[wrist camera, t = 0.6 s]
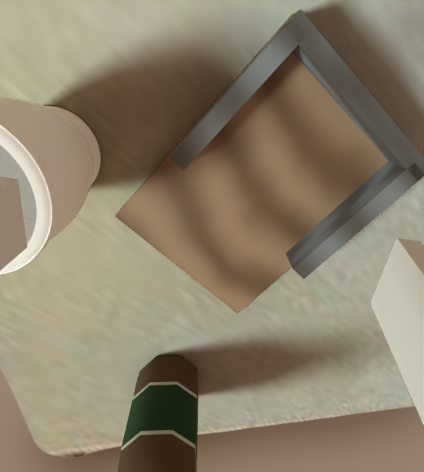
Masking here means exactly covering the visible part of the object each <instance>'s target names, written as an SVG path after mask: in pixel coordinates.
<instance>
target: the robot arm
mask: <svg viewBox="0 0 424 472" xmlns="http://www.w3.org/2000/svg"><path fill="white" fill-rule="evenodd" d="M26 248H27V239H26V232H25V225H24V218H23V211H22V204H21V196H20V189H19V182H18V179H13V178H6V177H0V271H1V270H2V269H3V268H4V267H5V266H6V265H8V264H9V263H10V262H11V261H12V260H13V259H14V258H16V257H17V256H18V255H19V254H20V253H21V252H23V251H24V250H25V249H26ZM371 306H372V308H373V310H374V312H375V315H376V317H377V319H378V322H379V324H380V326H381V329H382V331H383V333H384V335H385V338H386V340H387V342H388V345H389V347H390V349H391V351H392V354H393V356H394V358H395V361H396V363H397V365H398V367H399V370H400V372H401V374H402V377H403V379H404V381H405V383H406V386H407V388H408V390H409V393H410V395H411V397H412V399H413V402H414V404H415V406H416V409H417V411H418V413H419V415H420V418H421V420H422V422H423V425H424V246H423V244H422V243H421V242H420V241H414V240H407V239H401V238H397V239H396V241H395V244H394V246H393V249H392V251H391V254H390V256H389V259H388V261H387V264H386V266H385V269H384V271H383V273H382V276H381V278H380V281H379V283H378V286H377V288H376V291H375V293H374V296H373V298H372V301H371Z"/></svg>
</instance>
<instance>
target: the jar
mask: <svg viewBox="0 0 424 472" xmlns="http://www.w3.org/2000/svg"><path fill="white" fill-rule="evenodd" d="M100 164H101V155H100V149H99V145H98V142H97V140H96V138H95V136H94V134H93V133H92V131H91V130H90V128H89V127H88V126H87V125H86V124H85V123H84V122H83V121H82V120H81V119H80V118H79V117H77V116H76V115H75V114H73V113H71V112H69V111H67V110H65V109H62V108H59V107H53V106H43V105H40V104H35V103H30V102H27V101H23V100H18V99H12V98H1V97H0V177H6V178H13V179H18V182H19V189H20V196H21V204H22V211H23V218H24V225H25V232H26V239H27V248H26V249H25V250H24V251H23V252H21V253H20V254H19V255H18V256H17V257H16V258H14V259H13V260H12V261H11V262H10V263H9V264H8V265H6V266H5V267H4V268H3V269H2V270H1V271H0V275H2V274H6V273H9V272H12V271H15V270H17V269H19V268H21V267H23V266H24V265H26V264H28V263H29V262H30V261H32V260H33V259H34V258H36V257H37V256H38V255H39V254H40V253H41V252H42V250H43V249H44V248H45V246H46V245H47V243H48V242H49V240H51V239H52V238H54V237H55V236H56V235H58V234H59V233H60V232H61V231H62V230H64V229H65V228H66V227H67V226H68V225H69V224H70V223H71V222H72V220H73V219H74V218H75V217H76V215H77V214H78V212H79V211H80V209H81V207H82V206H83V204H84V201H85V199H86V197H87V194H88V192H89V190H90V187H91V185H92V184H93V182H94V181H95V179H96V178H97V175H98V173H99V170H100Z"/></svg>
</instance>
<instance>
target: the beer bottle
mask: <svg viewBox="0 0 424 472" xmlns="http://www.w3.org/2000/svg"><path fill="white" fill-rule="evenodd" d="M197 431H198V382H197V369H196V368H195V367H194V366H193V365H191V364H190V363H188V362H187V361H186V360H184V359H183V358H182V357H180V356H156V357H155V358H154V359H153V360H152V361H151V362H150V363H148V364H147V365H146V366H145V367H144V368H143V369H142V370H141V371H140V373H139V376H138V379H137V383H136V387H135V392H134V396H133V400H132V405H131V409H130V413H129V418H128V422H127V426H126V431H125V435H124V439H123V444H122V448H121V454H120V460H119V467H118V472H196V470H197Z"/></svg>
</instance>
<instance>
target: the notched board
mask: <svg viewBox="0 0 424 472" xmlns="http://www.w3.org/2000/svg"><path fill="white" fill-rule="evenodd" d="M423 176H424V157H423V156H422V154H421V153H420V152H419V151H418V150H417V148H416V147H415V146H414V145H413V144H412V142H411V141H410V140H409V139H408V138H407V136H406V135H405V134H404V133H403V132H402V130H401V129H400V128H399V127H398V126H397V124H396V123H395V122H394V121H393V120H392V118H391V117H390V116H389V115H388V114H387V112H386V111H385V110H384V109H383V108H382V106H381V105H380V104H379V103H378V102H377V100H376V99H375V98H374V97H373V96H372V94H371V93H370V92H369V91H368V90H367V88H366V87H365V86H364V85H363V84H362V82H361V81H360V80H359V79H358V78H357V76H356V75H355V74H354V73H353V72H352V70H351V69H350V68H349V67H348V66H347V64H346V63H345V62H344V61H343V60H342V58H341V57H340V56H339V55H338V54H337V52H336V51H335V50H334V49H333V48H332V46H331V45H330V44H329V43H328V42H327V40H326V39H325V38H324V37H323V36H322V34H321V33H320V32H319V31H318V30H317V28H316V27H315V26H314V25H313V24H312V22H311V21H310V20H309V19H308V18H307V16H306V15H305V14H304V13H303V12H302V10H301V9H300V10H299V11H298V12H297V13H295V14H292V15H291V16H290V17H289V18H288V20H287V21H286V22H285V23H284V24H283V25H282V26H281V28H280V29H279V30H278V31H277V32H276V33H275V34H274V35H273V37H272V38H271V39H270V40H269V41H268V42H267V43H266V45H265V46H264V47H263V48H262V49H261V50H260V51H259V53H258V54H257V55H256V56H255V57H254V58H253V59H252V61H251V62H250V63H249V64H248V65H247V66H246V67H245V68H244V70H243V71H242V72H241V73H240V74H239V75H238V76H237V78H236V79H235V80H234V81H233V82H232V83H231V84H230V86H229V87H228V88H227V89H226V90H225V91H224V92H223V93H222V95H221V96H220V97H219V98H218V99H217V100H216V101H215V103H214V104H213V105H212V106H211V107H210V108H209V109H208V111H207V112H206V113H205V114H204V115H203V116H202V117H201V118H200V120H199V121H198V122H197V123H196V124H195V125H194V126H193V128H192V129H191V130H190V131H189V132H188V133H187V134H186V136H185V137H184V138H183V139H182V140H181V141H180V142H179V143H178V145H177V146H176V147H175V148H174V149H173V150H172V151H171V153H170V154H169V155H168V156H167V157H166V158H165V159H164V161H163V162H162V163H161V164H160V165H159V166H158V167H157V168H156V170H155V171H154V172H153V173H152V174H151V175H150V176H149V178H148V179H147V180H146V181H145V182H144V183H143V184H142V186H141V187H140V188H139V189H138V190H137V191H136V192H135V193H134V195H133V196H132V197H131V198H130V199H129V200H128V201H127V203H126V204H125V205H124V206H123V207H122V208H121V209H120V211H119V212H118V213H117V214H116V216H115V217H117V218H118V219H119V220H120V221H122V222H123V223H124V224H125V225H127V226H128V227H129V228H130V229H132V230H133V231H134V232H135V233H137V234H138V235H139V236H140V237H142V238H143V239H144V240H146V241H147V242H148V243H149V244H151V245H152V246H153V247H154V248H156V249H157V250H158V251H159V252H161V253H162V254H163V255H164V256H166V257H167V258H168V259H169V260H171V261H172V262H173V263H174V264H176V265H177V266H178V267H179V268H181V269H182V270H183V271H185V272H186V273H187V274H188V275H190V276H191V277H192V278H193V279H195V280H196V281H197V282H198V283H200V284H201V285H202V286H203V287H205V288H206V289H207V290H208V291H210V292H211V293H212V294H213V295H215V296H216V297H217V298H218V299H220V300H221V301H222V302H223V303H225V304H226V305H227V306H229V307H230V308H231V309H232V310H234V311H235V312H236V313H237V314H238V313H239V312H240V311H241V310H242V309H244V308H245V307H246V306H247V305H248V304H249V303H250V302H251V301H253V300H254V299H255V298H256V297H257V296H258V295H259V294H261V293H262V292H263V291H264V290H265V289H266V288H267V287H269V286H270V285H271V284H272V283H273V282H274V281H275V280H276V279H278V278H279V277H280V276H281V275H282V274H283V273H284V272H286V271H287V270H288V269H289V268H290V267H291V266H292V268H293V270H295V271H296V272H297V273H298V274H299V275H300V276H301V277H302V278H303V279H304V278H306V277H307V276H308V275H309V274H310V273H311V272H313V271H314V270H315V269H316V268H317V267H318V266H320V265H321V264H322V263H323V262H324V261H325V260H327V259H328V258H329V257H330V256H331V255H332V254H334V253H335V252H336V251H337V250H338V249H339V248H341V247H342V246H343V245H344V244H345V243H346V242H348V241H349V240H350V239H351V238H352V237H353V236H355V235H356V234H357V233H358V232H359V231H360V230H362V229H363V228H364V227H365V226H366V225H367V224H369V223H370V222H371V221H372V220H373V219H374V218H376V217H377V216H378V215H379V214H380V213H381V212H383V211H384V210H385V209H386V208H387V207H388V206H390V205H391V204H392V203H393V202H394V201H395V200H397V199H398V198H399V197H400V196H401V195H402V194H404V193H405V192H406V191H407V190H408V189H409V188H411V187H412V186H413V185H414V184H415V183H416V182H418V181H419V180H420V179H421V178H422V177H423Z"/></svg>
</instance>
